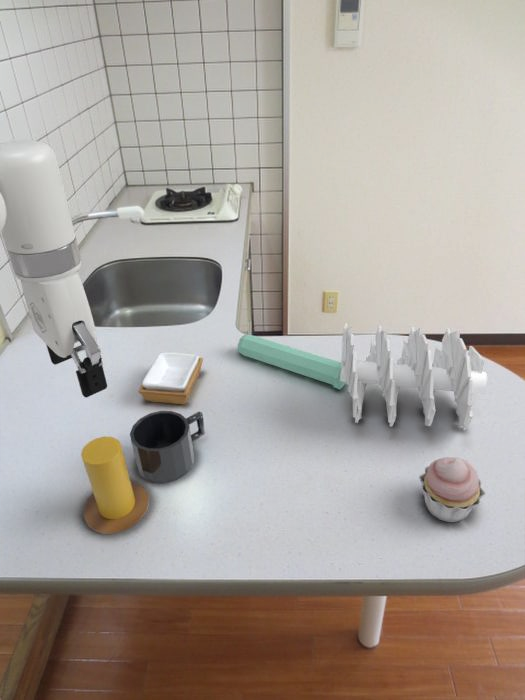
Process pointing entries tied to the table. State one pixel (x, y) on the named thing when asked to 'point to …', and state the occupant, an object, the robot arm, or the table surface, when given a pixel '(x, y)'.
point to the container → (292, 359)
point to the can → (108, 477)
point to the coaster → (121, 524)
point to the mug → (165, 445)
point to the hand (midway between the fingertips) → (79, 375)
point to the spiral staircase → (414, 372)
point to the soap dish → (171, 378)
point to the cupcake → (451, 488)
